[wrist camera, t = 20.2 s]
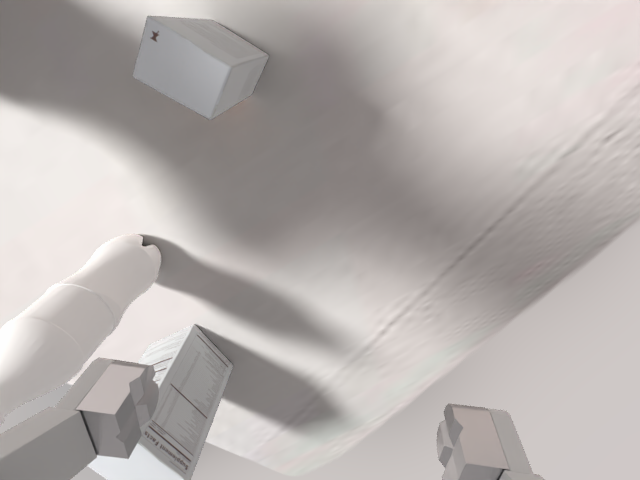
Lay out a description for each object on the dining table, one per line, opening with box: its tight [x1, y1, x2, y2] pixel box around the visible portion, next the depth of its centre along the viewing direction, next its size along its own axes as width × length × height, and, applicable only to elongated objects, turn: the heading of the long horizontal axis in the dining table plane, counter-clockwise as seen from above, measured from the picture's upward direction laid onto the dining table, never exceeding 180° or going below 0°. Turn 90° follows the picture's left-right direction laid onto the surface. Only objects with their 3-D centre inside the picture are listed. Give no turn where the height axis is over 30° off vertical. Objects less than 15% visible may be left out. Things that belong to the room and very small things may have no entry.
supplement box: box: [87, 325, 233, 480], centre depth 48 cm, size 10×9×17 cm
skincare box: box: [133, 16, 269, 120], centre depth 30 cm, size 6×4×12 cm
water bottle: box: [0, 234, 161, 426], centre depth 36 cm, size 7×7×25 cm
